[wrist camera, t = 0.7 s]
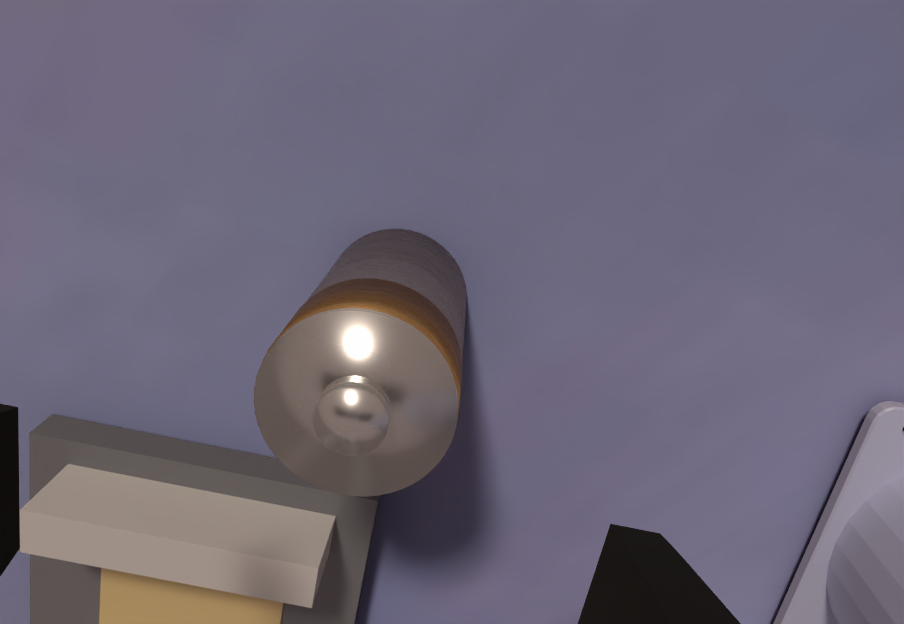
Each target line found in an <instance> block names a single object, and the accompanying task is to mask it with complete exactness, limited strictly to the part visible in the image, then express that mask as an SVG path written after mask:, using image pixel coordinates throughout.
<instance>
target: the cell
mask: <svg viewBox="0 0 904 624" xmlns="http://www.w3.org/2000/svg"><path fill="white" fill-rule="evenodd" d="M466 304H467V292H466V284H465V281H464V277H463V274H462V272H461V270H460V267H459V266H458V264H457V262H456V261H455V259H454V258H453V257H452V255H451V254H450V253H449V252H448V251H447V250H446V249H445V248H444V247H443V246H442V245H440V244H439V243H438V242H436V241H435V240H433V239H431V238H430V237H428V236H426V235H423V234H421V233H418V232H414V231H411V230H404V229H386V230H380V231H376V232H373V233H370V234H368V235H365V236H363V237H362V238H360V239H358V240H357V241H355V242H354V243H353V244H351V245H350V246H349V247H348V248H347V249H346V250H345V251H344V252H343V254H342V255H341V256H340V258H339V259H338V260H337V262H336V263H335V264H334V265H333V267H332V268H331V269H330V271H329V272H328V273H327V275H326V276H325V277H324V279H323V280H322V281H321V283H320V284H319V285H318V287H317V288H316V289H315V291H314V292H313V293H312V295H311V296H310V297H309V299H308V300H307V301H306V302H305V303H304V304H303V305H302V306H301V307H300V309H299V310H298V311H297V313H296V314H295V315H294V317H293V318H292V319H291V320H290V322H289V323H288V324H287V326H286V327H285V328H284V330H283V331H282V332H281V334H280V335H279V336H278V338H277V339H276V340H275V342H274V343H273V344H272V346H271V347H270V348H269V350H268V352H267V354H266V355H265V357H264V359H263V362H262V364H261V366H260V368H259V371H258V374H257V377H256V382H255V388H254V407H255V414H256V418H257V422H258V426H259V428H260V431H261V433H262V436H263V438H264V439H265V441H266V443H267V445H268V447H269V448H270V449H271V451H272V452H273V453H274V455H275V456H276V457H277V458H278V459H279V460H280V462H281V463H282V464H283V465H284V466H285V467H287V468H288V469H289V470H290V471H291V472H292V473H294V474H295V475H297V476H298V477H300V478H301V479H303V480H304V481H306V482H308V483H310V484H312V485H314V486H316V487H318V488H321V489H323V490H326V491H329V492H333V493H337V494H341V495H348V496H362V497H367V496H379V495H384V494H388V493H392V492H395V491H398V490H401V489H404V488H406V487H408V486H410V485H412V484H414V483H416V482H417V481H419V480H420V479H422V478H423V477H425V476H426V475H427V474H428V473H429V472H431V471H432V470H433V469H434V468H435V467H436V465H437V464H438V463H439V462H440V461H441V460H442V458H443V457H444V455H445V454H446V452H447V450H448V448H449V446H450V444H451V442H452V440H453V437H454V433H455V430H456V427H457V423H458V417H459V409H460V396H461V382H462V355H463V342H464V329H465V316H466Z"/></svg>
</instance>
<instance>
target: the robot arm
mask: <svg viewBox="0 0 904 624" xmlns="http://www.w3.org/2000/svg"><path fill="white" fill-rule="evenodd" d="M903 427H904V403H899V402H894V401H885V402H882V403H879V404H877V405H876V406H874V407H873V408H871V410H870V411H869V412H868V414H867V415H866V418H865V420H864V422H863V424H862V426H861V429H860V431H859V433H858V435H857V438H856V440H855V442H854V444H853V447H852V449H851V451H850V453H849V455H848V458H847V460H846V462H845V464H844V467H843V469H842V471H841V473H840V476H839V478H838V480H837V482H836V484H835V487H834V489H833V491H832V493H831V496H830V498H829V500H828V502H827V505H826V507H825V509H824V511H823V514H822V516H821V518H820V520H819V522H818V525H817V527H816V529H815V531H814V534H813V536H812V538H811V540H810V543H809V545H808V547H807V549H806V551H805V554H804V556H803V558H802V560H801V563H800V565H799V567H798V569H797V572H796V574H795V576H794V578H793V581H792V583H791V585H790V587H789V589H788V592H787V594H786V596H785V598H784V601H783V603H782V605H781V607H780V610H779V612H778V614H777V616H776V618H775V621H774V623H773V624H904V431H902V429H903ZM19 548H20V538H19V444H18V407H14V406H9V405H4V404H0V576H1V574H2V573H3V572H4V570H5V569H6V567H7V566H8V564H9V563H10V561H11V560H12V559H13V557H14V556H15V554H16V553H17V551H18V550H19ZM578 624H740V623H739V621H738V620H737V619H736V618H735V617H734V616H733V615H732V613H731V612H730V611H729V610H728V609H727V608H726V607H725V605H724V604H723V603H722V602H721V601H720V600H719V599H718V597H717V596H716V595H715V594H714V593H713V592H712V591H711V589H710V588H709V587H708V586H707V585H706V584H705V583H704V581H703V580H702V579H701V578H700V577H699V576H698V575H697V573H696V572H695V571H694V570H693V569H692V568H691V567H690V565H689V564H688V563H687V562H686V561H685V560H684V559H683V558H682V556H681V555H680V554H679V553H678V552H677V551H676V550H675V549H674V548H673V547H672V545H671V544H670V543H669V542H668V541H667V540H666V539H665V538H664V537H663V536H662V535H661V534H659V533H654V532H649V531H644V530H639V529H634V528H629V527H624V526H619V525H614V524H610V527H609V530H608V534H607V537H606V540H605V543H604V546H603V549H602V552H601V555H600V558H599V561H598V564H597V567H596V570H595V573H594V576H593V579H592V582H591V585H590V588H589V591H588V594H587V597H586V600H585V604H584V607H583V610H582V613H581V616H580V619H579V622H578Z"/></svg>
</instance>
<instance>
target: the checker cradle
mask: <svg viewBox="0 0 904 624" xmlns="http://www.w3.org/2000/svg"><path fill="white" fill-rule="evenodd" d="M379 498H380V495H379V496H367V497H362V496H348V495H341V494H337V493H333V492H329V491H326V490H323V489H321V488H318V487H316V486H314V485H312V484H310V483H308V482H306V481H304V480H303V479H301V478H300V477H298V476H297V475H295V474H294V473H292V472H291V471H290V470H289V469H288V468H287V467H285V466H284V465H283V464H282V463H281V462H280V460H279V459H276V458H271V457H266V456H261V455H256V454H251V453H246V452H241V451H236V450H231V449H226V448H221V447H216V446H210V445H205V444H200V443H195V442H190V441H185V440H180V439H175V438H170V437H165V436H160V435H155V434H150V433H145V432H139V431H134V430H129V429H124V428H119V427H114V426H109V425H104V424H99V423H94V422H89V421H84V420H79V419H74V418H68V417H63V416H58V415H53V414H52V415H51V416H50V417H48V418H47V419H46V420H45V421H43V422H42V423H41V424H40V425H39V426H37V427H36V428H35V429H34V430H32V431H31V432H30V501H29V502H28V503H27V504H26V505H25V506H24V507H23V508H22V509H21V510H20V552H22V553H27V554H30V624H355V622H356V616H357V611H358V606H359V601H360V596H361V591H362V585H363V580H364V575H365V570H366V565H367V560H368V554H369V549H370V544H371V539H372V534H373V529H374V523H375V518H376V513H377V508H378V503H379Z"/></svg>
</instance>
